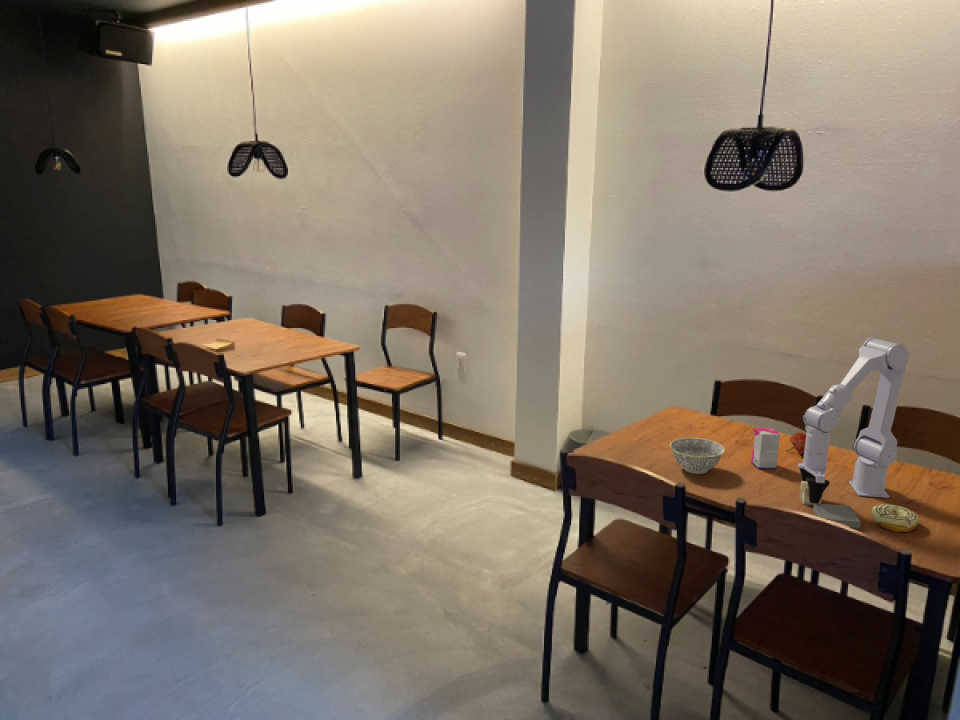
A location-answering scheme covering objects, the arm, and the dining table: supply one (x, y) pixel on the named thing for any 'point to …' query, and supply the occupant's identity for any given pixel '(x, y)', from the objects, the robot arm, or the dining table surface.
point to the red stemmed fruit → (798, 442)
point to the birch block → (806, 494)
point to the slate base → (837, 514)
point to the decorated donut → (895, 517)
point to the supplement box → (765, 448)
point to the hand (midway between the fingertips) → (810, 496)
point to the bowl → (696, 454)
